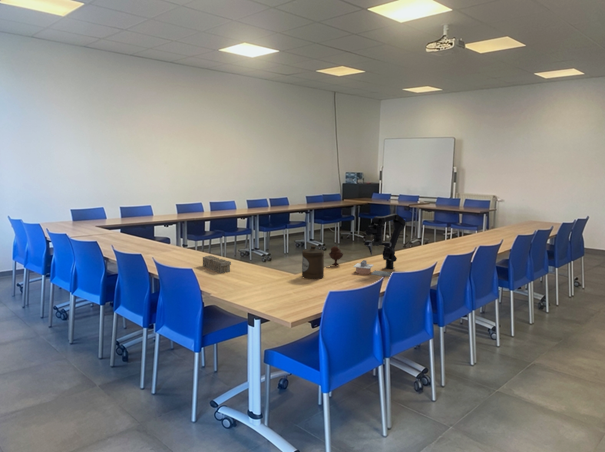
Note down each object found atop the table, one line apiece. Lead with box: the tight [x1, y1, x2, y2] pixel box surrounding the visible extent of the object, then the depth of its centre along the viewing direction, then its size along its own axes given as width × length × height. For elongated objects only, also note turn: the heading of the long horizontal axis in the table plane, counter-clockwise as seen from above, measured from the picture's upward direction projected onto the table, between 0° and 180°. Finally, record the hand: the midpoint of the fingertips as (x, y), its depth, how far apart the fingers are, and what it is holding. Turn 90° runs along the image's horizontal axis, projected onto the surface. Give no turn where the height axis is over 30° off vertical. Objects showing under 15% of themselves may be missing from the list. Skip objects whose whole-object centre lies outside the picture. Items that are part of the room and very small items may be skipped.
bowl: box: [355, 267, 372, 275], centre depth 308 cm, size 10×10×5 cm
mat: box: [369, 270, 392, 278], centre depth 306 cm, size 14×14×1 cm
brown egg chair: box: [328, 245, 344, 267], centre depth 331 cm, size 11×11×15 cm
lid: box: [353, 259, 374, 269], centre depth 307 cm, size 12×12×4 cm
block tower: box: [202, 255, 232, 274], centre depth 312 cm, size 8×8×29 cm
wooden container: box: [301, 244, 325, 280], centre depth 293 cm, size 15×15×22 cm
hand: (377, 255), depth 313 cm, fingers open, 9 cm apart
